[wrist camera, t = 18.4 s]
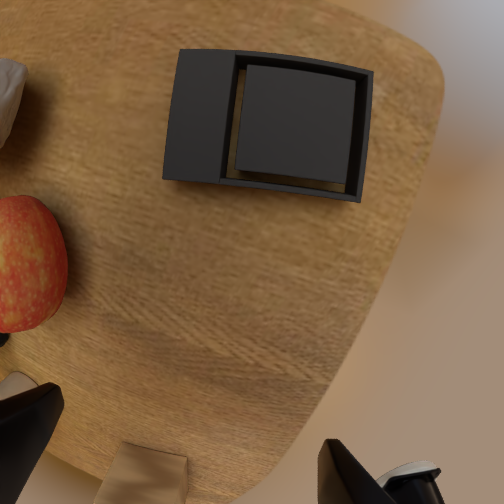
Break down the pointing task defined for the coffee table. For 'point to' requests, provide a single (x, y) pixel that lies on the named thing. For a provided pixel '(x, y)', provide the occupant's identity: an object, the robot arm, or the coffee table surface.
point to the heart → (10, 94)
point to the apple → (29, 264)
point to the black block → (295, 124)
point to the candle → (15, 385)
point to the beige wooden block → (144, 478)
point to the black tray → (221, 115)
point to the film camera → (3, 338)
